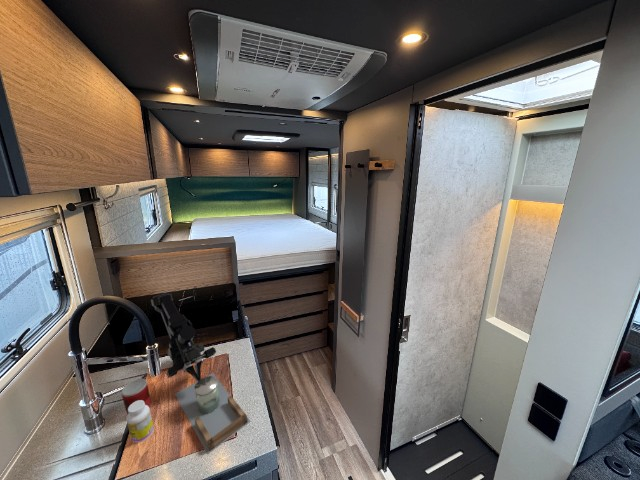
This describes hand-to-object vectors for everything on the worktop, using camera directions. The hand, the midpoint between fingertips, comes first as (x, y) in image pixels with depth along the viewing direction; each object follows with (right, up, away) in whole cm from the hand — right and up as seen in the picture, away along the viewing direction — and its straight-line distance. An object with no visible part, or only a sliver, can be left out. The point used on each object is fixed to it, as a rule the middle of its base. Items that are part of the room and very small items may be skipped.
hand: (199, 381), depth 104 cm
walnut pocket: (+13, -10, -11) cm, 19 cm away
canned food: (-21, -8, -5) cm, 24 cm away
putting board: (+6, -8, -4) cm, 11 cm away
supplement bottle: (-13, -11, -14) cm, 22 cm away
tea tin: (+5, -7, -4) cm, 10 cm away
